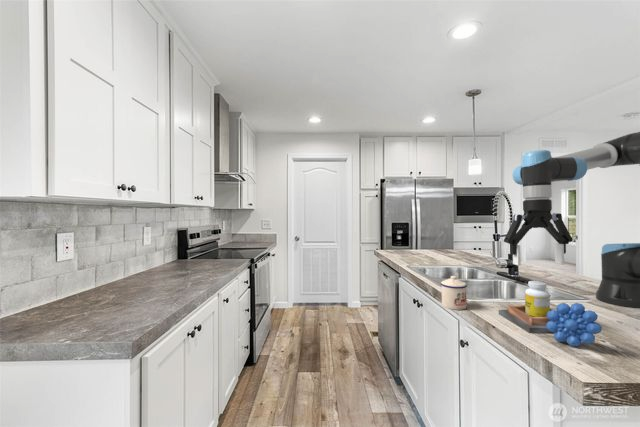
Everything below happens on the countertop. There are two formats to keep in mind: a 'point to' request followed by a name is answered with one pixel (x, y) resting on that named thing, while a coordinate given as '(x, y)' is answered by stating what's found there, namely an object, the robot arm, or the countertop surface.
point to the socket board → (525, 319)
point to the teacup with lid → (454, 294)
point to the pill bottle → (537, 299)
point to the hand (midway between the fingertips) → (538, 264)
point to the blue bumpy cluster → (573, 324)
